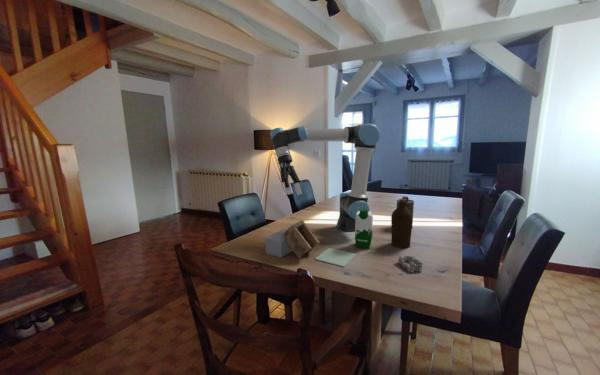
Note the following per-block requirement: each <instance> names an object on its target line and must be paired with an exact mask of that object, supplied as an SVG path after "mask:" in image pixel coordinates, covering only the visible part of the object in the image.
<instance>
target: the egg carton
mask: <svg viewBox="0 0 600 375" xmlns="http://www.w3.org/2000/svg"><path fill="white" fill-rule="evenodd" d="M397 256H398V260H397V263H399V264H398V265H401V264H402V265H401V267H402V266H403V268H404V267H406V268H405V269H406V271H407V270H408V271H407V272H410V271H412V272H411V273H415V271H416V270H418V271H417V272H422V270H423V265H425V263H423V262H421V261H420V259H417V258H416V257H415V256H414V255H407V256H405V255H404V256H403V257H402V255H399V254H397ZM397 256H396V257H397ZM406 260H408V261H409V262H408V261H406ZM404 262H405V263H404ZM406 263H407V264H406ZM408 264H409V266H408ZM415 264H416V265H415ZM421 269H422V270H421ZM414 270H415V271H414Z"/></svg>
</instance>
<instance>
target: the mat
mask: <svg viewBox="0 0 600 375" xmlns="http://www.w3.org/2000/svg"><path fill="white" fill-rule="evenodd" d="M357 255H358V254H357V253H354V252H349V251H346V250H341V249H336V248H332V247H329V248H327V249H326V250H324V251H322V253H320V254H319V255H318V256H316V257H315V258H314V260H315V261H318V262H322V263H326V264H329V265H334V266H338V267H342V268H345V267H346V266H347V265H349V263H350V262H351V261H352V260H353V259H355V257H357Z"/></svg>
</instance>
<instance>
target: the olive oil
mask: <svg viewBox="0 0 600 375" xmlns="http://www.w3.org/2000/svg"><path fill="white" fill-rule="evenodd" d="M399 199H400V202H399V207H398V208H397V207H396V208H395V209H394V210H393V211H392V213H391V219H390V220H391V223H390V224H391V240H390V241H391V246H393V247H395V246H396V247H395V248H398V247H401V248H400V249H407V248H406V247H408V248H409V246H411V241H412V240H411V238H412V230H413V228H412V227H413V224H412V223H413V222H414V221H413V220H414V214H413V215H412V213H411V212H410V210H409V209H408V208H407V207H406V199H402V198H399Z"/></svg>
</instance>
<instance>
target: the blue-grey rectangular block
mask: <svg viewBox="0 0 600 375" xmlns="http://www.w3.org/2000/svg"><path fill="white" fill-rule="evenodd" d="M287 230H288V229H285V228H283V229H281V230H279V231H276V232H274V233H273V234H271V235H268V236H266V237H264V246H265V247H264V248H265V254H267V255H270V256H275V257H277V258H283V257H284V256H286V255H288V254H290V253H291V252H294V251H293V250H292V248H291V247H290V246H289V244H288V243H287V242H286V240H285V239H284V237H283V236H282V235H283V234H284V233H285V232H286V231H287Z"/></svg>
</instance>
